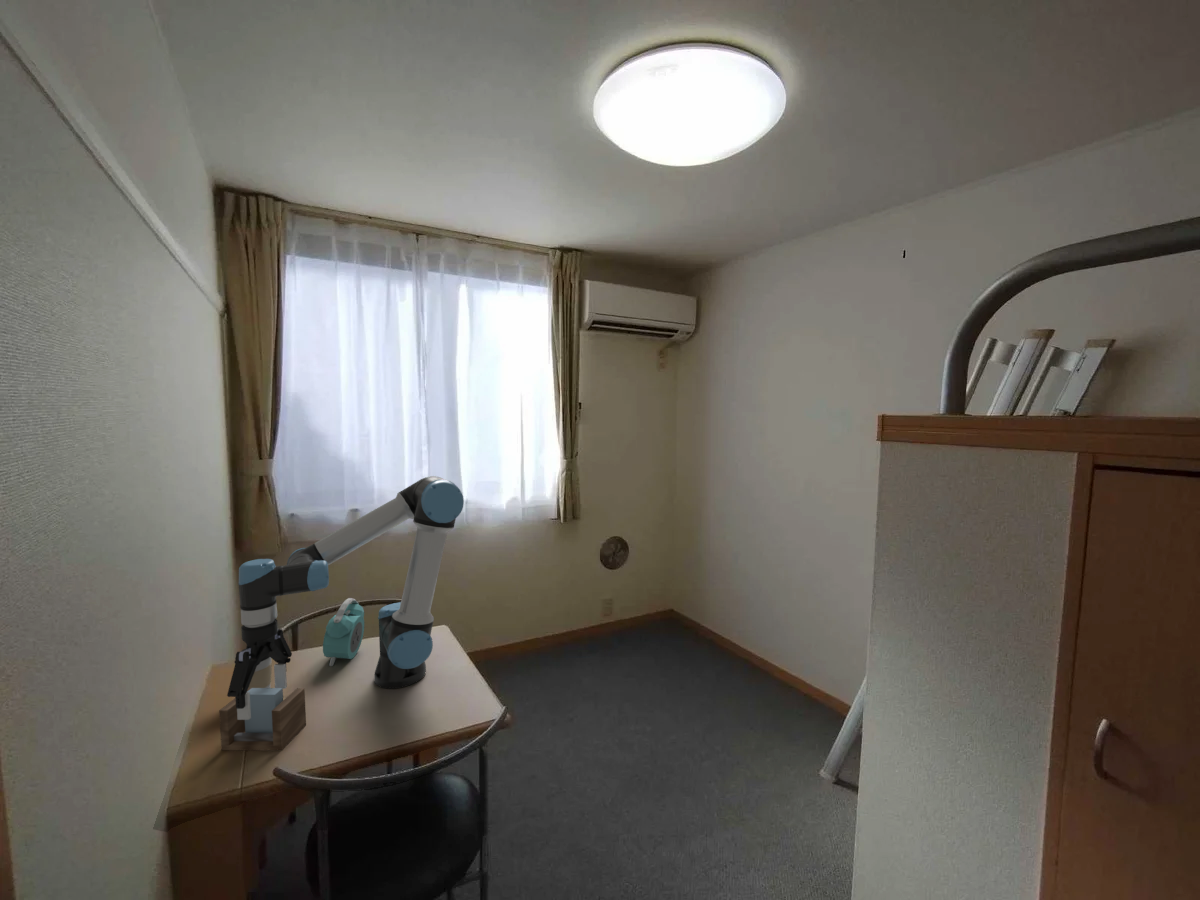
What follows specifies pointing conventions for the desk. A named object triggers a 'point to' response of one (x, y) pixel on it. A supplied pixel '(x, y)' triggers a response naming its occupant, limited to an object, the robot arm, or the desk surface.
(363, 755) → the desk surface
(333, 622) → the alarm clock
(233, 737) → the frame
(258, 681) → the coffee cup
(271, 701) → the door panel
